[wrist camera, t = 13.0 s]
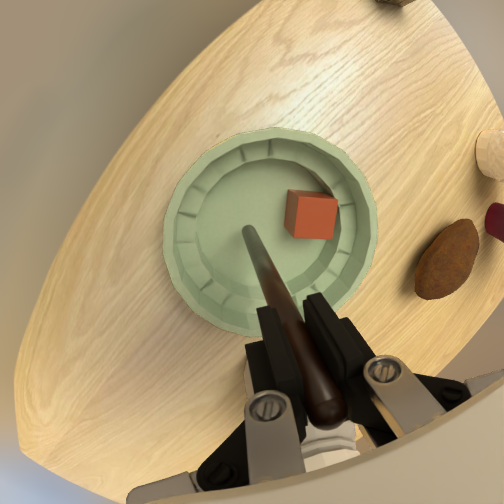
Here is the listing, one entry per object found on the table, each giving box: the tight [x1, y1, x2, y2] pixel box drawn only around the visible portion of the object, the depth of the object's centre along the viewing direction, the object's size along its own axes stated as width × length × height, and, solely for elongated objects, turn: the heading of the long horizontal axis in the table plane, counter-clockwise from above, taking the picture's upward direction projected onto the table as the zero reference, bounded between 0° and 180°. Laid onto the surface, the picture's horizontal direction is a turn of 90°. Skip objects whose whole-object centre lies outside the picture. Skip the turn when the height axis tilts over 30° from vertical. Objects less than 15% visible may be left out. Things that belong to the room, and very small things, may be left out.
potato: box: [415, 219, 479, 300], centre depth 29 cm, size 7×12×7 cm, turn 146°
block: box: [284, 189, 338, 240], centre depth 26 cm, size 4×4×4 cm
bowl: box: [163, 127, 378, 337], centre depth 25 cm, size 18×18×6 cm
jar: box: [243, 360, 360, 473], centre depth 27 cm, size 10×10×18 cm
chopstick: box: [242, 225, 348, 431], centre depth 16 cm, size 1×1×20 cm
